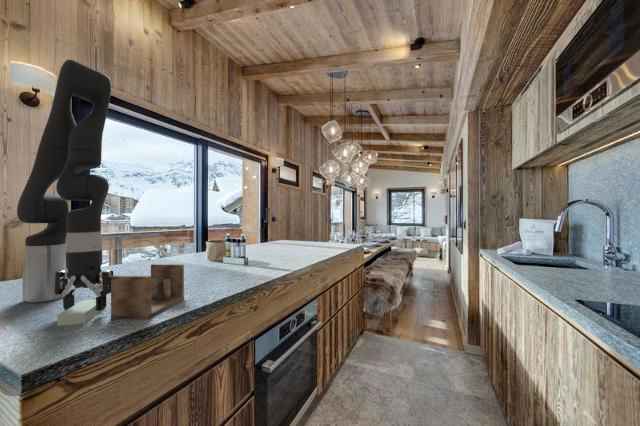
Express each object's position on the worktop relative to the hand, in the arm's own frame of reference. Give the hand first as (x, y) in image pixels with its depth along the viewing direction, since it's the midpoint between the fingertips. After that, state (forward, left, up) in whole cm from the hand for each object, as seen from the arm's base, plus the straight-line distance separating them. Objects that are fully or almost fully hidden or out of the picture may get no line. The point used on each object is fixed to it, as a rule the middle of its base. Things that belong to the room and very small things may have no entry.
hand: (85, 309), depth 75 cm
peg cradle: (+14, +7, -2) cm, 15 cm away
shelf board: (0, 0, -2) cm, 2 cm away
